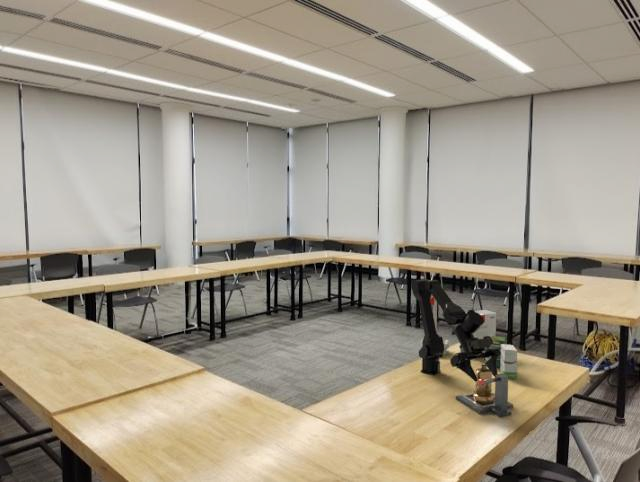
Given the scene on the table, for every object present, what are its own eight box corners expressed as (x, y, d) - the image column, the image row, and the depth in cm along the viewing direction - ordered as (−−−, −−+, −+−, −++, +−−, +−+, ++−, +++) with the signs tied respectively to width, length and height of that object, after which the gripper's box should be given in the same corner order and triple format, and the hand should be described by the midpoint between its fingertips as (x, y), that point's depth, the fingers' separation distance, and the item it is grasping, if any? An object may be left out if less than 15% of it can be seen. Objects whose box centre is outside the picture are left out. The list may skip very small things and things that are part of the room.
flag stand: (436, 346, 223) (437, 286, 221) (454, 353, 211) (455, 291, 209) (415, 349, 217) (415, 289, 215) (432, 357, 205) (433, 293, 203)
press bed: (450, 400, 160) (450, 364, 159) (487, 393, 166) (487, 358, 165) (482, 421, 144) (483, 381, 143) (521, 412, 150) (522, 374, 149)
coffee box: (485, 365, 195) (485, 336, 194) (486, 363, 197) (487, 334, 196) (504, 368, 191) (505, 338, 190) (505, 366, 193) (506, 337, 192)
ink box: (517, 379, 179) (517, 350, 178) (504, 378, 180) (504, 349, 179) (512, 371, 187) (513, 344, 186) (499, 371, 188) (500, 343, 187)
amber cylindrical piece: (475, 403, 154) (475, 368, 153) (471, 395, 161) (471, 361, 160) (496, 404, 153) (497, 369, 152) (491, 396, 160) (491, 362, 159)
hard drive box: (471, 359, 203) (472, 316, 202) (459, 354, 210) (460, 312, 209) (495, 353, 210) (496, 312, 209) (483, 349, 217) (483, 309, 216)
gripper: (455, 330, 156) (476, 372, 146) (498, 325, 162) (520, 365, 153) (441, 346, 164) (460, 386, 154) (483, 341, 170) (503, 379, 161)
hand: (486, 379), depth 155 cm, fingers open, 8 cm apart
